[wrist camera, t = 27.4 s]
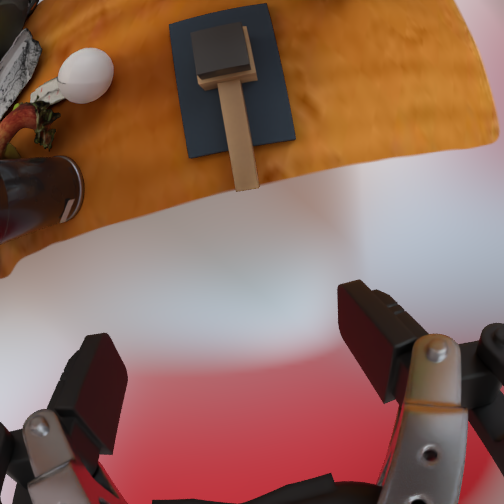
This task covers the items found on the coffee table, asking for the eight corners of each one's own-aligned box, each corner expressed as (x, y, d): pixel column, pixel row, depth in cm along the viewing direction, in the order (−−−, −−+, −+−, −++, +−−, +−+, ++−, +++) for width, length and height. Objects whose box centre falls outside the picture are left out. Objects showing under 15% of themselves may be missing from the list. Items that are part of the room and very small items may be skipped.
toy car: (40, -9, 24) (48, -3, 28) (1, -13, 20) (10, -8, 24) (22, 19, 26) (31, 24, 29) (-15, 13, 22) (-5, 17, 25)
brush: (222, 193, 33) (213, 197, 28) (197, 46, 29) (185, 30, 24) (276, 184, 33) (276, 187, 28) (248, 36, 28) (244, 17, 23)
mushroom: (-6, 140, 20) (-18, 225, 28) (74, 117, 31) (43, 192, 38) (-35, 84, 18) (-47, 169, 26) (36, 71, 29) (10, 145, 36)
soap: (79, 68, 31) (76, 66, 30) (77, 96, 31) (73, 94, 31) (33, 91, 32) (29, 90, 31) (30, 117, 32) (27, 116, 32)
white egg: (70, 58, 22) (67, 118, 27) (128, 50, 27) (120, 104, 32) (46, 46, 24) (43, 95, 29) (95, 38, 29) (89, 84, 34)
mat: (191, 158, 33) (188, 158, 32) (171, 27, 29) (168, 24, 28) (295, 139, 32) (296, 139, 31) (266, 6, 27) (266, 2, 26)
